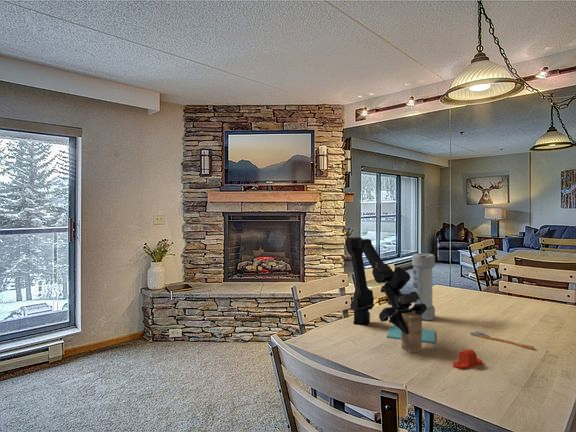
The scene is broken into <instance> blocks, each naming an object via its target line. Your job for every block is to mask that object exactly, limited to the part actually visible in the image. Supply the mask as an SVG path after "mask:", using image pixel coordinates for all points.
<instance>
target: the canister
mask: <svg viewBox="0 0 576 432" xmlns="http://www.w3.org/2000/svg"><path fill="white" fill-rule="evenodd" d="M411 258H412V259H411V265H412V267H413V269H412V275H413V276H412V279H413V281H412V287H413V288H412V290H413V291H412V292H415V291H416V292H417V294H418V296H419V300H417V302H414V303H413V304H412V305H411V308H412V307H413V306H414V305H415V304H420V303H423V304H425V305H426V307H427V310H426V311H425V312H424V313H423V314H422V315H421V316H422V321H427V322H428V321H433V320H435V318H436V317H435V316H436V309H435V307H434V305H433V269H434V267H435V266H436V263H435V262H436V257H435V254H432V253H420V252H419V253H412V256H411Z"/></svg>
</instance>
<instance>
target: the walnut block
mask: <svg viewBox="0 0 576 432" xmlns="http://www.w3.org/2000/svg"><path fill="white" fill-rule="evenodd" d="M402 320H403V322H404V324H405V326H406V328H407V330H408V333H409V334H407V335H406V334H405V333H404V332H403V331H402V330H401V339H400V341H401V344H400V345H401V349H402V350H404V351H406V352H408V353H410V354H412V353H419V352H422V351H423V349H422V348H423V347H422V345H423V344H422V343H423V342H422V329H423V328H422V327H423V325H422V324H423V320H422V316H421V315H419V314H416V313H414V312H409V313H402Z"/></svg>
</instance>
